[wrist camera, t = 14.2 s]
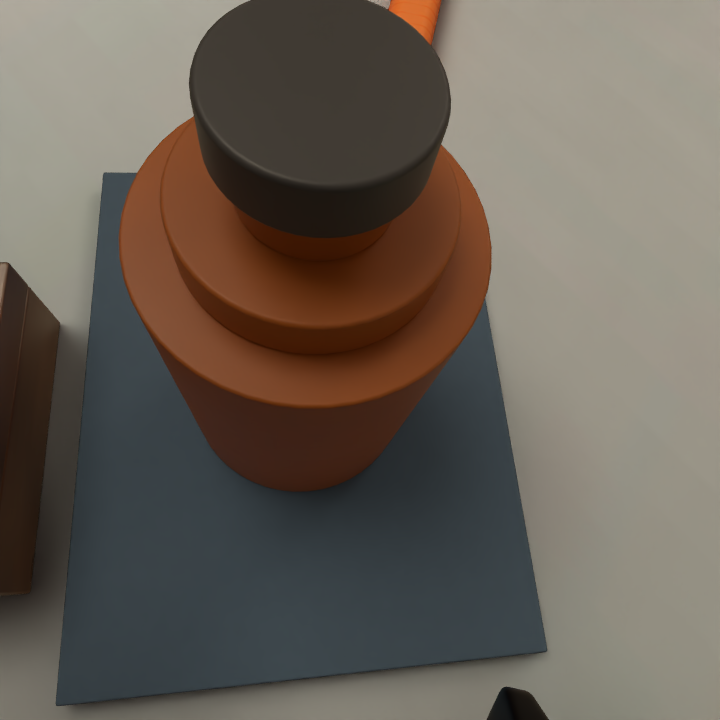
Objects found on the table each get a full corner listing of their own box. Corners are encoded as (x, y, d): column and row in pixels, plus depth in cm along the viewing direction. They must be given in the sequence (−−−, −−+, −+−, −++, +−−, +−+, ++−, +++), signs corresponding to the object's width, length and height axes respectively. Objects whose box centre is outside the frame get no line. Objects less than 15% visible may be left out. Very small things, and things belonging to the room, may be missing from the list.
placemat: (539, 649, 16) (548, 652, 15) (63, 702, 14) (54, 706, 13) (459, 186, 21) (464, 175, 20) (108, 183, 19) (102, 171, 19)
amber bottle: (352, 529, 16) (479, 422, 5) (152, 434, 16) (-90, 159, 6) (432, 344, 18) (629, 21, 8) (256, 264, 18) (218, -153, 8)
